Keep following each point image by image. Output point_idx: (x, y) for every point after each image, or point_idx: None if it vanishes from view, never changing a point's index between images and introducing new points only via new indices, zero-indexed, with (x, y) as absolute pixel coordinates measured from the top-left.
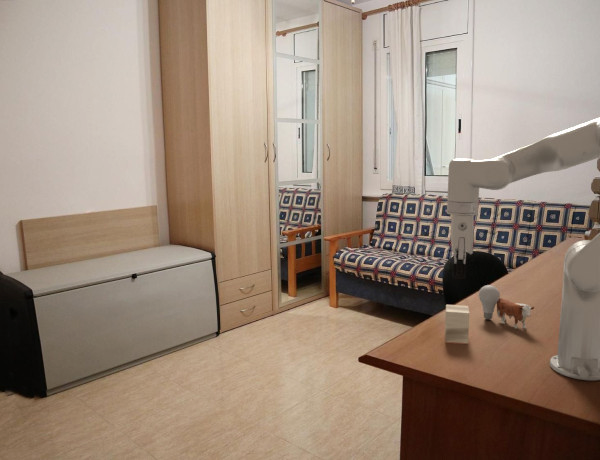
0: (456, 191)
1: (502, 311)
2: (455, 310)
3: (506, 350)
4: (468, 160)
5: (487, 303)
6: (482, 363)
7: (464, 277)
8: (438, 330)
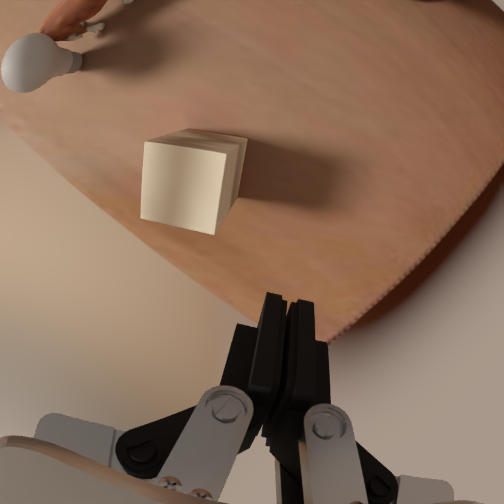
0: None
1: (78, 26)
2: (199, 199)
3: (289, 46)
4: None
5: (57, 65)
6: (375, 140)
7: (310, 311)
8: None
